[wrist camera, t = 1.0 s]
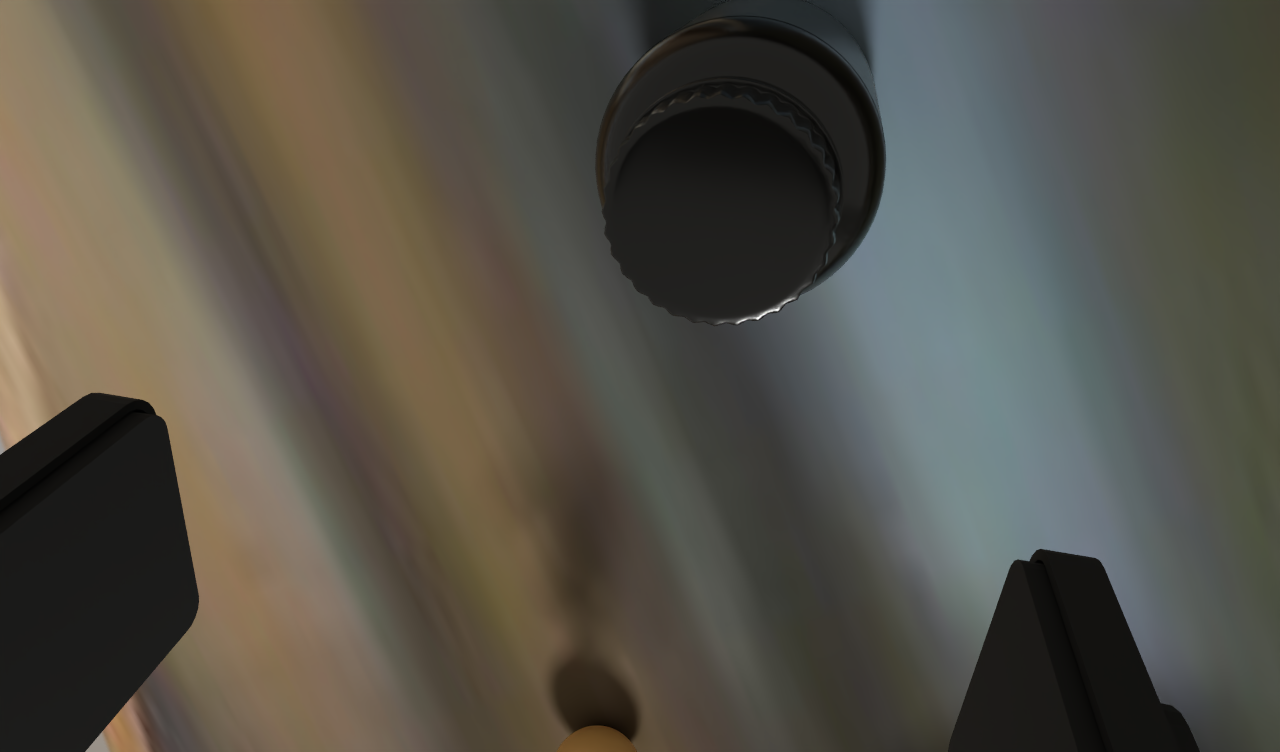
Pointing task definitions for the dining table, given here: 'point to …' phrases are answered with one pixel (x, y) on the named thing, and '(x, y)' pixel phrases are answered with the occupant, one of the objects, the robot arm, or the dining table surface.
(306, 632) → the dining table surface
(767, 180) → the supplement bottle
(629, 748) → the figurine
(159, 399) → the dining table surface
